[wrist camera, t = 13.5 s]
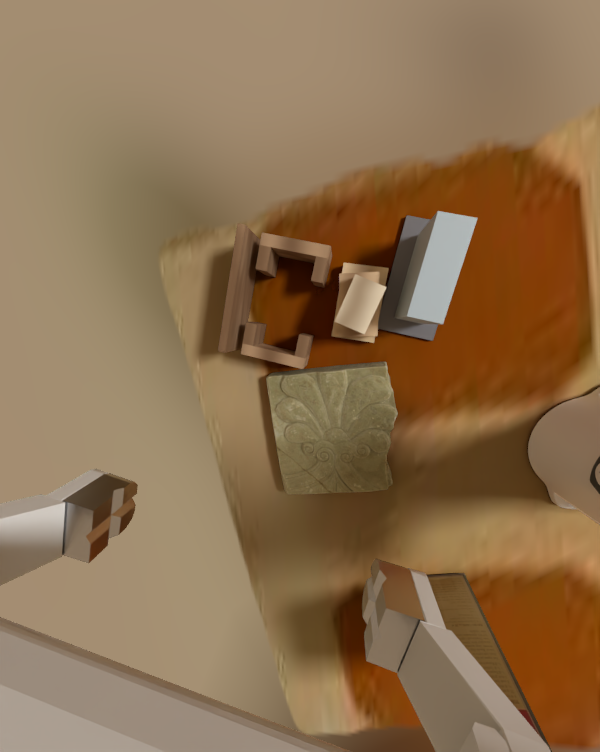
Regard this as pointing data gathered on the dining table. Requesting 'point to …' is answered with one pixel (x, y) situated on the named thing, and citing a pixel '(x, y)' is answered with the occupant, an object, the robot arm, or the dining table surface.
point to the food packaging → (478, 637)
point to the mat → (397, 281)
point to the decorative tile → (333, 427)
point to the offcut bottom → (382, 281)
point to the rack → (243, 270)
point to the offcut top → (360, 304)
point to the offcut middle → (344, 285)
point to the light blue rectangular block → (435, 268)
